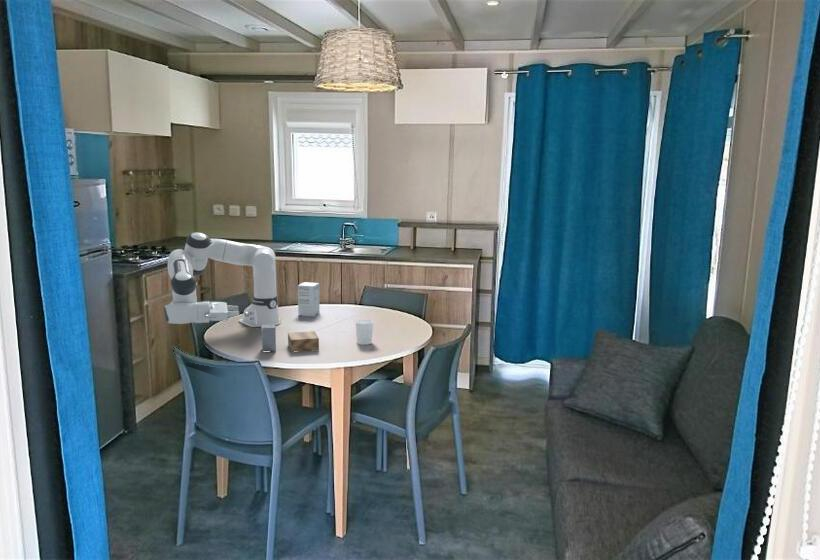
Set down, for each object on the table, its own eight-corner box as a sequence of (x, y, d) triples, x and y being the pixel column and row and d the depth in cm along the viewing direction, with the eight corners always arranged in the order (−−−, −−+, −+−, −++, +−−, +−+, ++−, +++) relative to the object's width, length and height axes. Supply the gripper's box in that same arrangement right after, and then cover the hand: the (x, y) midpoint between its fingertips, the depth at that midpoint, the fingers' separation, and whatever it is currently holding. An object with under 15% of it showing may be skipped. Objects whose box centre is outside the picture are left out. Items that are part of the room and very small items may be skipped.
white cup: (356, 340, 299) (356, 319, 297) (373, 340, 299) (373, 320, 297) (354, 345, 291) (354, 323, 289) (372, 345, 291) (372, 324, 289)
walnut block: (291, 353, 279) (291, 340, 277) (288, 345, 290) (287, 333, 289) (318, 351, 282) (318, 338, 281) (314, 343, 293) (314, 331, 292)
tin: (262, 352, 278) (262, 328, 276) (261, 349, 283) (261, 325, 281) (276, 351, 279) (275, 327, 277) (274, 348, 285) (274, 324, 283)
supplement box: (304, 311, 355) (303, 281, 352) (320, 312, 353) (319, 282, 350) (297, 315, 346) (297, 285, 343) (314, 316, 344) (313, 285, 341)
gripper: (204, 310, 260) (239, 308, 264) (204, 300, 279) (237, 298, 283) (205, 325, 261) (240, 323, 265) (205, 314, 280) (237, 312, 284)
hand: (238, 310), depth 274 cm, fingers open, 8 cm apart
